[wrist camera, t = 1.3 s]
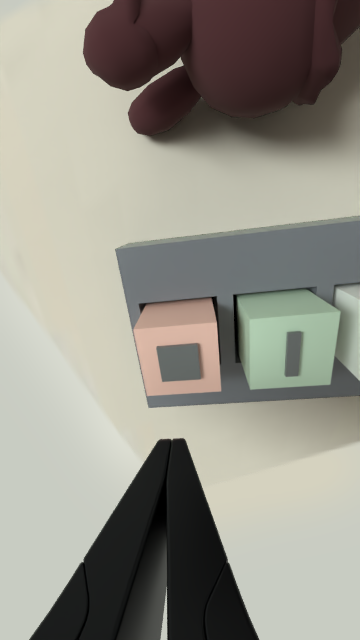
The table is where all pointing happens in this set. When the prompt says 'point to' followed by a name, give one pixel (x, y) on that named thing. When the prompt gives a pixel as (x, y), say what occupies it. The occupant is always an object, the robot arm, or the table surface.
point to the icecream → (218, 54)
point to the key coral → (179, 347)
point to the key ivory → (348, 326)
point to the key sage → (286, 338)
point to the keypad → (244, 290)
